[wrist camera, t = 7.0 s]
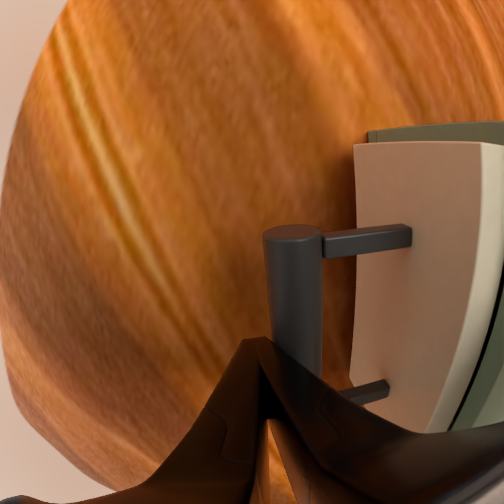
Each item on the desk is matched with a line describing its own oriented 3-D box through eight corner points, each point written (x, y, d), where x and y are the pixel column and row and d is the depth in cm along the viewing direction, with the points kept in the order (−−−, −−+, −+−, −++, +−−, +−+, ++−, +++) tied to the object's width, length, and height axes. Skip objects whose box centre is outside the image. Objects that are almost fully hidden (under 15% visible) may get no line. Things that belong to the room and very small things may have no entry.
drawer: (269, 393, 14) (293, 509, 8) (243, 150, 10) (273, 135, 4) (508, 320, 15) (567, 366, 8) (529, 157, 11) (611, 174, 5)
